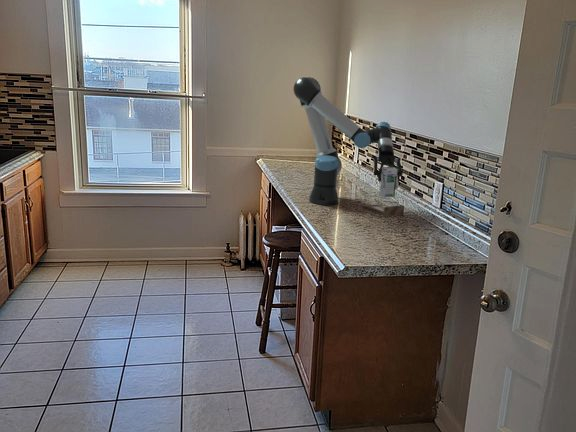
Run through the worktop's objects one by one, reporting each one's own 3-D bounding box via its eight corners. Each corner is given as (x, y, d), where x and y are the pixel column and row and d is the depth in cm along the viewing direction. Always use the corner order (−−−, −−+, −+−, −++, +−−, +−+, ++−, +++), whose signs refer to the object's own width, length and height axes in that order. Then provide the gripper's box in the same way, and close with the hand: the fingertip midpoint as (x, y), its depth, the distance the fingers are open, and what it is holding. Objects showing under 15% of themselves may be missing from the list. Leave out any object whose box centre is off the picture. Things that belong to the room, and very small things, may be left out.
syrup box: (384, 197, 250) (387, 168, 246) (379, 195, 256) (381, 166, 252) (394, 197, 252) (398, 168, 248) (389, 194, 257) (392, 166, 253)
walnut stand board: (385, 216, 246) (386, 207, 245) (363, 208, 259) (364, 200, 258) (403, 214, 253) (404, 205, 251) (381, 206, 265) (382, 198, 264)
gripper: (402, 154, 264) (407, 192, 253) (365, 152, 263) (368, 190, 252) (406, 145, 258) (411, 183, 246) (368, 143, 256) (371, 181, 245)
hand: (389, 186), depth 249 cm, fingers closed on syrup box, 7 cm apart
